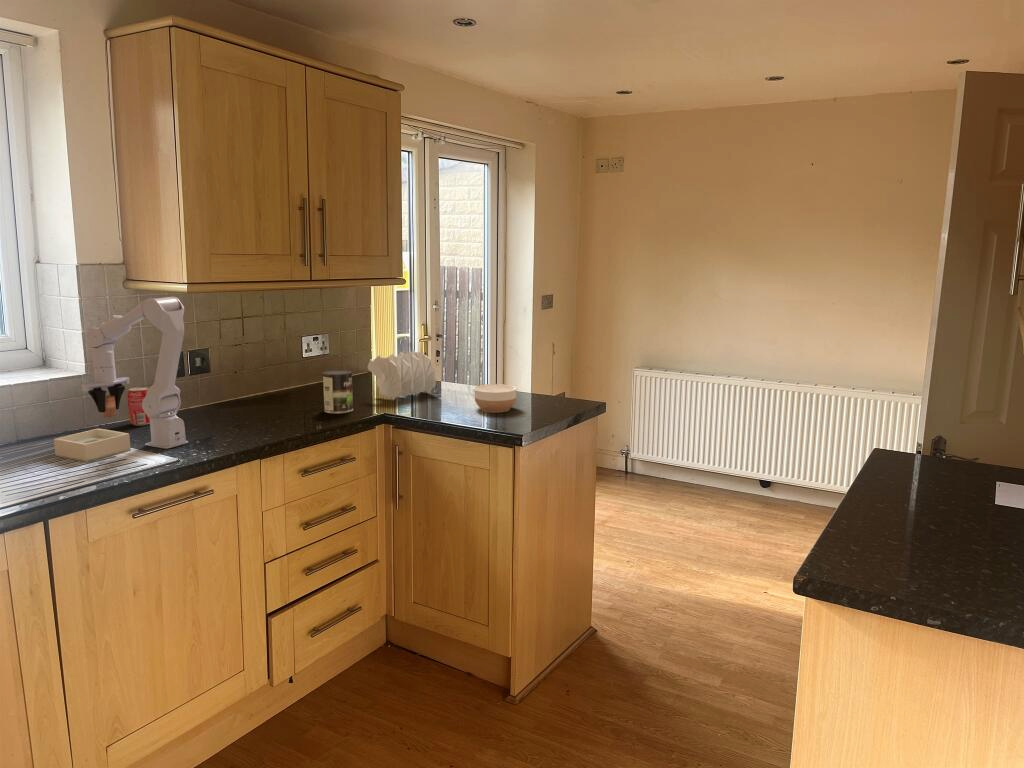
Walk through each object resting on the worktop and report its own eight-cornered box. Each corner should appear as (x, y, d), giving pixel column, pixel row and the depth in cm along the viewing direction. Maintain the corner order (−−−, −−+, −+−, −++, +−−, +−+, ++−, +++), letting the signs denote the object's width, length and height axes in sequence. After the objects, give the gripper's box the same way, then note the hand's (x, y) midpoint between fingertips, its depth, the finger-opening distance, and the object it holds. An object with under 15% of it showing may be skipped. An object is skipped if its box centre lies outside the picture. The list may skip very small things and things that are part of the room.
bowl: (488, 402, 288) (488, 382, 286) (525, 407, 280) (525, 386, 278) (464, 410, 274) (464, 389, 273) (502, 416, 266) (502, 394, 265)
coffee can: (357, 408, 277) (356, 370, 275) (346, 414, 267) (344, 375, 265) (331, 406, 279) (330, 369, 277) (319, 413, 269) (317, 373, 267)
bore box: (130, 450, 221) (129, 433, 220) (87, 462, 209) (85, 444, 208) (99, 444, 227) (98, 428, 226) (55, 455, 215) (53, 438, 214)
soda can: (147, 420, 257) (144, 385, 255) (157, 423, 253) (154, 388, 250) (126, 424, 252) (122, 388, 249) (135, 427, 247) (132, 391, 245)
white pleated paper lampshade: (433, 402, 306) (388, 410, 286) (406, 379, 314) (360, 385, 295) (449, 364, 299) (403, 369, 279) (420, 341, 307) (374, 344, 288)
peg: (119, 415, 233) (117, 396, 232) (107, 417, 230) (105, 398, 229) (110, 413, 235) (108, 394, 234) (98, 416, 232) (96, 397, 230)
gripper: (117, 362, 238) (121, 404, 240) (73, 369, 225) (77, 413, 227) (132, 363, 235) (136, 406, 237) (88, 371, 222) (93, 416, 224)
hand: (108, 410), depth 232 cm, fingers closed on peg, 4 cm apart
